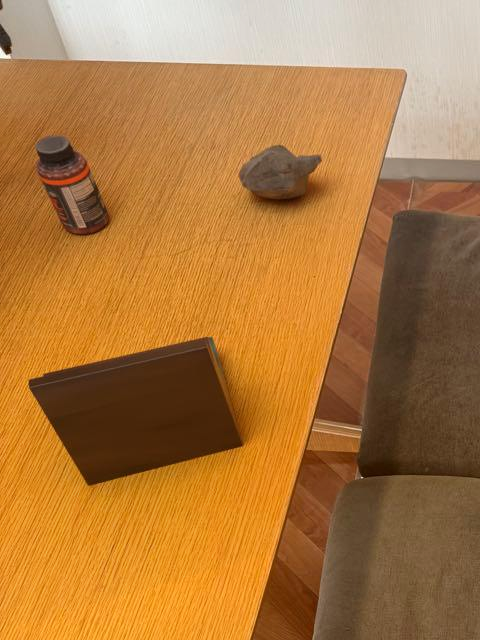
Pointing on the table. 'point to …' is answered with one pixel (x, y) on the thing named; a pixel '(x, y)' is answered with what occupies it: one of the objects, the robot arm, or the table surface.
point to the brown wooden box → (140, 409)
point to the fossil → (278, 173)
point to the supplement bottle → (70, 186)
